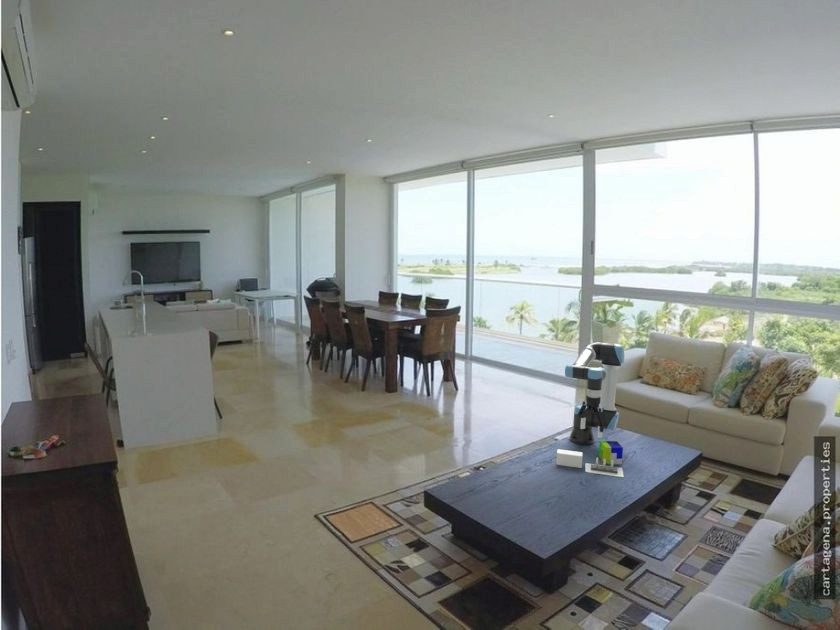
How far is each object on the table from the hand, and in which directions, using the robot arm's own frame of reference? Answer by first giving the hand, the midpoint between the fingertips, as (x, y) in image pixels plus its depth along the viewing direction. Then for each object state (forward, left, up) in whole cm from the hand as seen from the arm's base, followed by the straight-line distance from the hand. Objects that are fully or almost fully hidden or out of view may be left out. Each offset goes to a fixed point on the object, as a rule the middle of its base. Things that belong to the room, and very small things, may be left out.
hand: (591, 432), depth 292 cm
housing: (-4, -11, -22) cm, 25 cm away
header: (-2, +8, -22) cm, 23 cm away
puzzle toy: (-18, +12, -22) cm, 31 cm away
